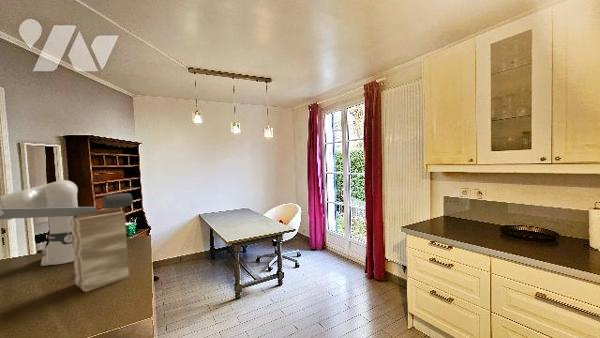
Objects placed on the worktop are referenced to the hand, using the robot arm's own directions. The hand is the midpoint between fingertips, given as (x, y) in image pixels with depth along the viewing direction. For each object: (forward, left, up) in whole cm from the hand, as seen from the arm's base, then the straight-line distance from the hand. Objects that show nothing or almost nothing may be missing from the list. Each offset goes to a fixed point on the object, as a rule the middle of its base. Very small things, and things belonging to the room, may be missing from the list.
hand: (1, 210), depth 83 cm
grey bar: (0, +11, -4) cm, 11 cm away
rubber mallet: (-40, +45, -32) cm, 68 cm away
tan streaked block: (0, +25, -32) cm, 40 cm away
